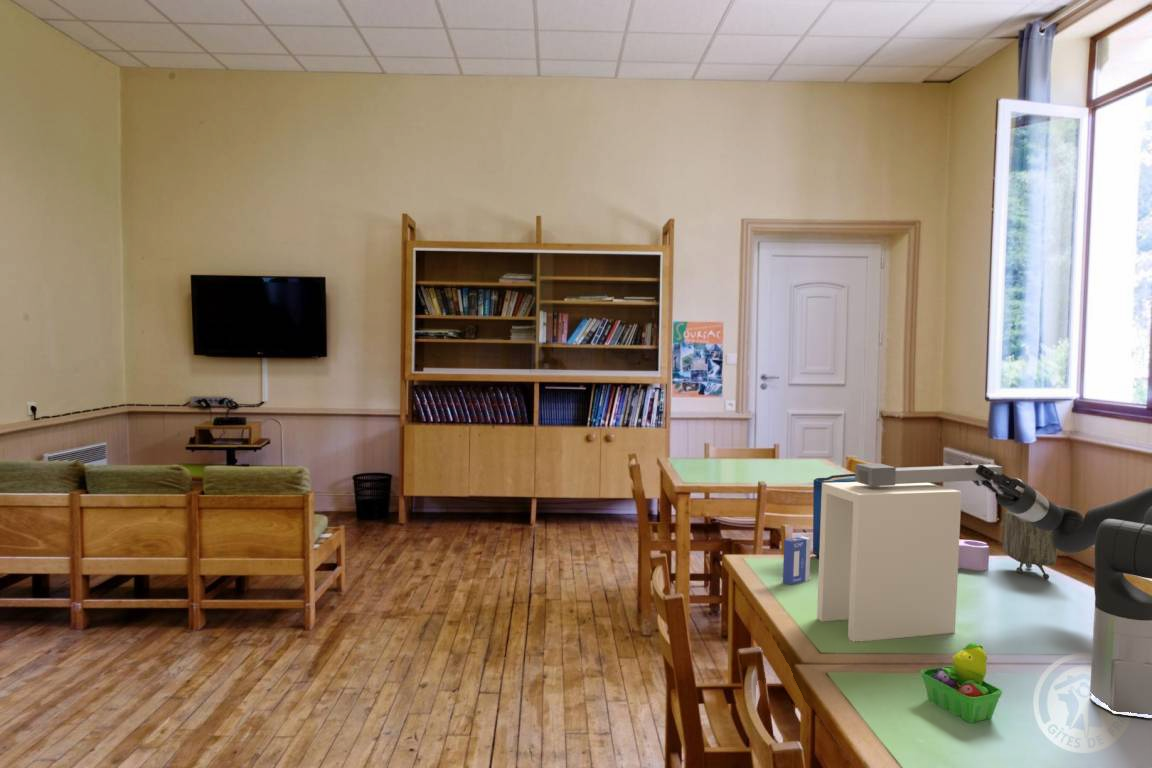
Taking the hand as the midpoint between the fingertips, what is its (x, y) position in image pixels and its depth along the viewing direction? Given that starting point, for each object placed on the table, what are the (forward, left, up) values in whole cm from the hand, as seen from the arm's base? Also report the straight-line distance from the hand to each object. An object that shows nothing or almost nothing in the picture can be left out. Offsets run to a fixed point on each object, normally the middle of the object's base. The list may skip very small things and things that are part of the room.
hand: (971, 466), depth 173 cm
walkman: (+16, +38, -36) cm, 55 cm away
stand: (-11, +19, -36) cm, 42 cm away
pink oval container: (+49, -6, -37) cm, 62 cm away
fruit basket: (-49, +11, -36) cm, 62 cm away
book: (+46, +23, -36) cm, 63 cm away
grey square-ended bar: (-6, +10, -3) cm, 11 cm away
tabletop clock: (+46, -26, -36) cm, 64 cm away
